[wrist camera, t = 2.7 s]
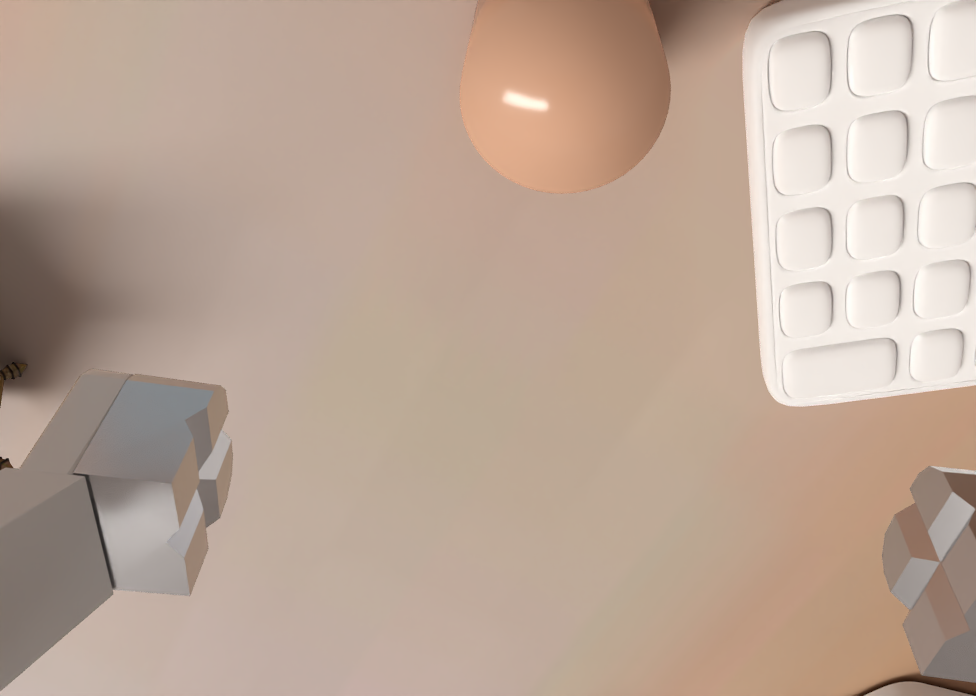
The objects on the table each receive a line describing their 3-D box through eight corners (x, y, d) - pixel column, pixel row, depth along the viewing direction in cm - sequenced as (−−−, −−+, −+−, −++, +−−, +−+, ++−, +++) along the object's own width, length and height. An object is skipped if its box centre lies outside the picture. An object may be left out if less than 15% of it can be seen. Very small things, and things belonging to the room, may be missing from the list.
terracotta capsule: (668, -56, 22) (693, 5, 18) (630, 118, 25) (645, 204, 21) (484, -80, 22) (469, -23, 18) (467, 98, 25) (451, 181, 21)
